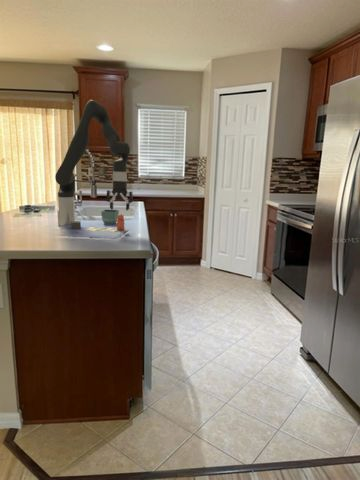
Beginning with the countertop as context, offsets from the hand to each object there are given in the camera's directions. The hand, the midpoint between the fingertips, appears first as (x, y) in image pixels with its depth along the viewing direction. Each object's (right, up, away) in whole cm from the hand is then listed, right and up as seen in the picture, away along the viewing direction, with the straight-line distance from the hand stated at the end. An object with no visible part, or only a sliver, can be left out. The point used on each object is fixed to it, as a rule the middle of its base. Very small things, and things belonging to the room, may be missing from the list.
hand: (119, 209), depth 194 cm
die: (-26, -11, +6) cm, 29 cm away
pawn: (0, -11, +3) cm, 12 cm away
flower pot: (-10, -8, +24) cm, 27 cm away
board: (-8, -12, +4) cm, 15 cm away
